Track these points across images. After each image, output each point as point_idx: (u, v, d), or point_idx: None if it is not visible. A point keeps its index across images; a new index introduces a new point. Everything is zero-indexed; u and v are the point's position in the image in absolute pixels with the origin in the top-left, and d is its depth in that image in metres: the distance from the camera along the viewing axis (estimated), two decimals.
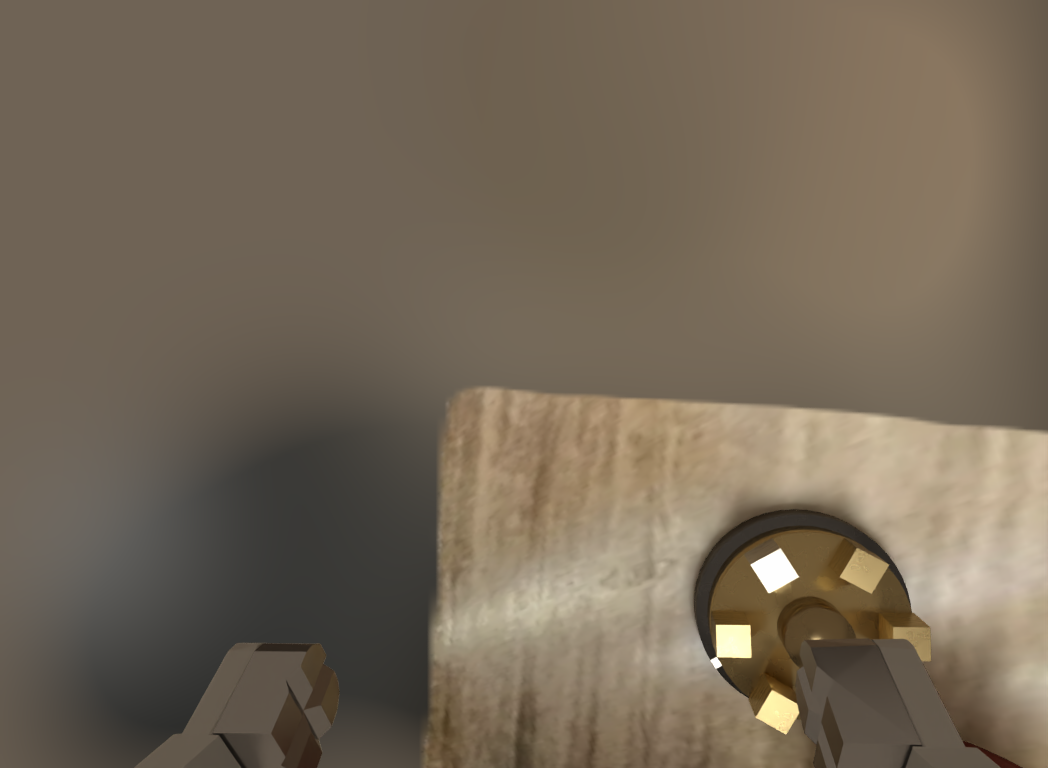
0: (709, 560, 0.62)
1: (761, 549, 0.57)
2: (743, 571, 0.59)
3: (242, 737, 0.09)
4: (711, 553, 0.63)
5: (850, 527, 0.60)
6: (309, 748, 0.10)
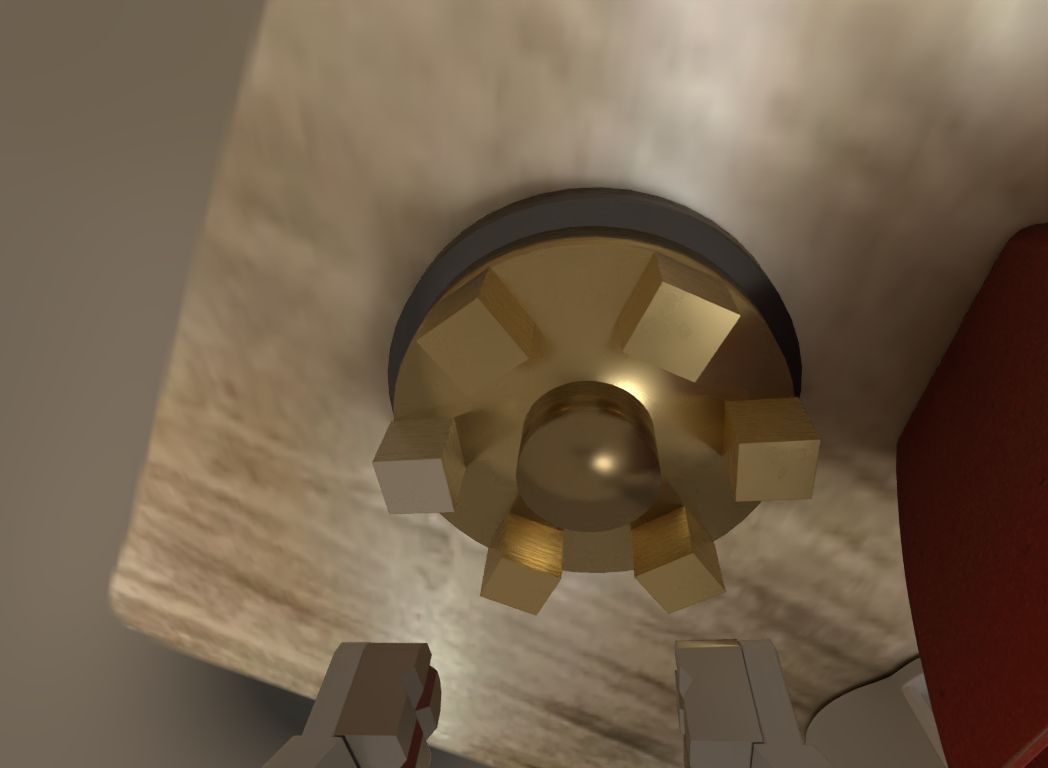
0: None
1: None
2: None
3: (364, 739, 0.09)
4: None
5: (453, 250, 0.27)
6: (422, 750, 0.10)
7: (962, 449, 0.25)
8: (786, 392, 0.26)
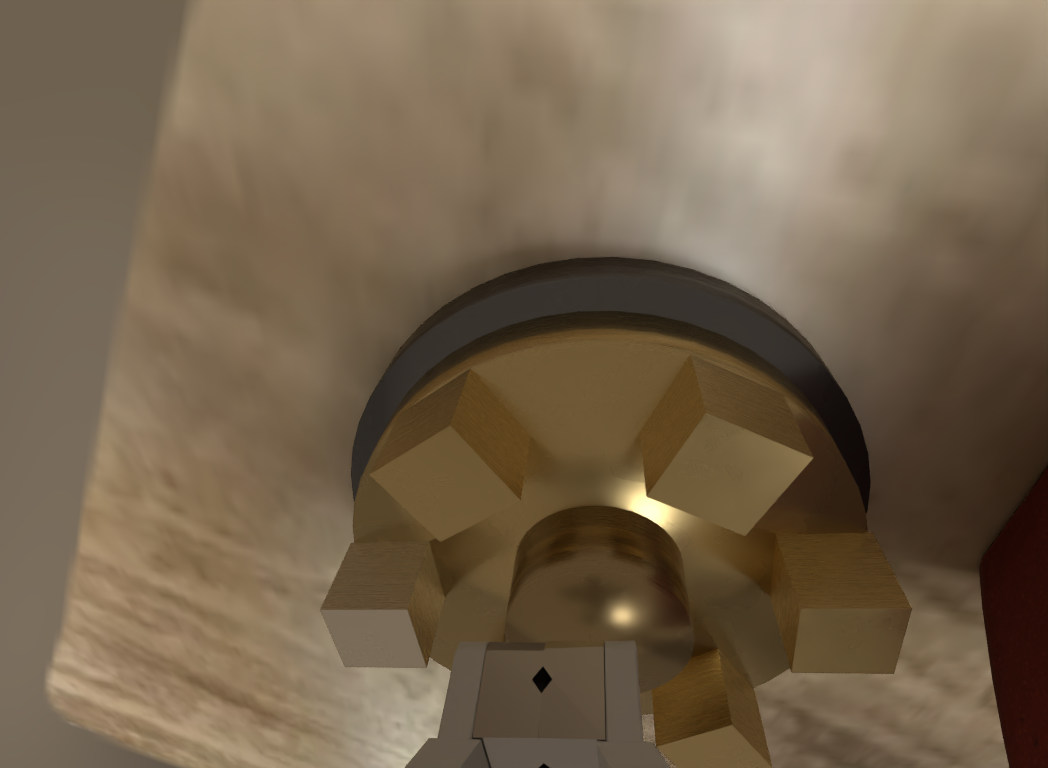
0: None
1: None
2: None
3: (503, 742, 0.09)
4: None
5: (429, 335, 0.21)
6: None
7: None
8: (857, 526, 0.20)
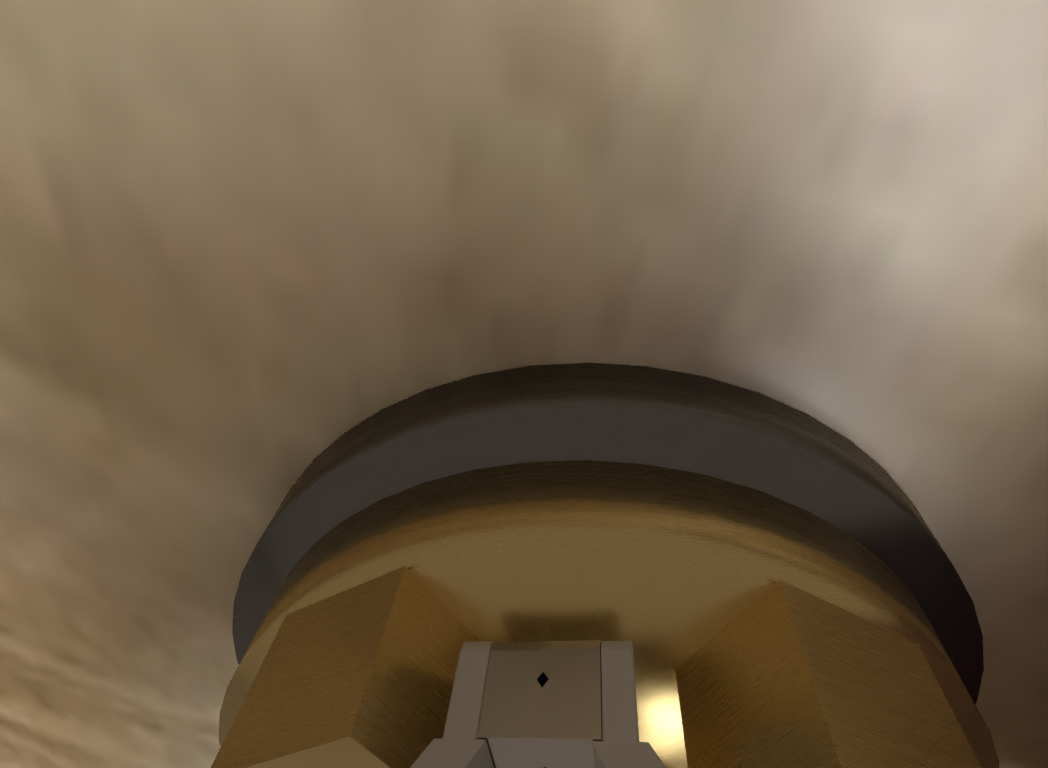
0: None
1: None
2: None
3: (508, 742, 0.09)
4: None
5: (349, 469, 0.14)
6: None
7: None
8: None
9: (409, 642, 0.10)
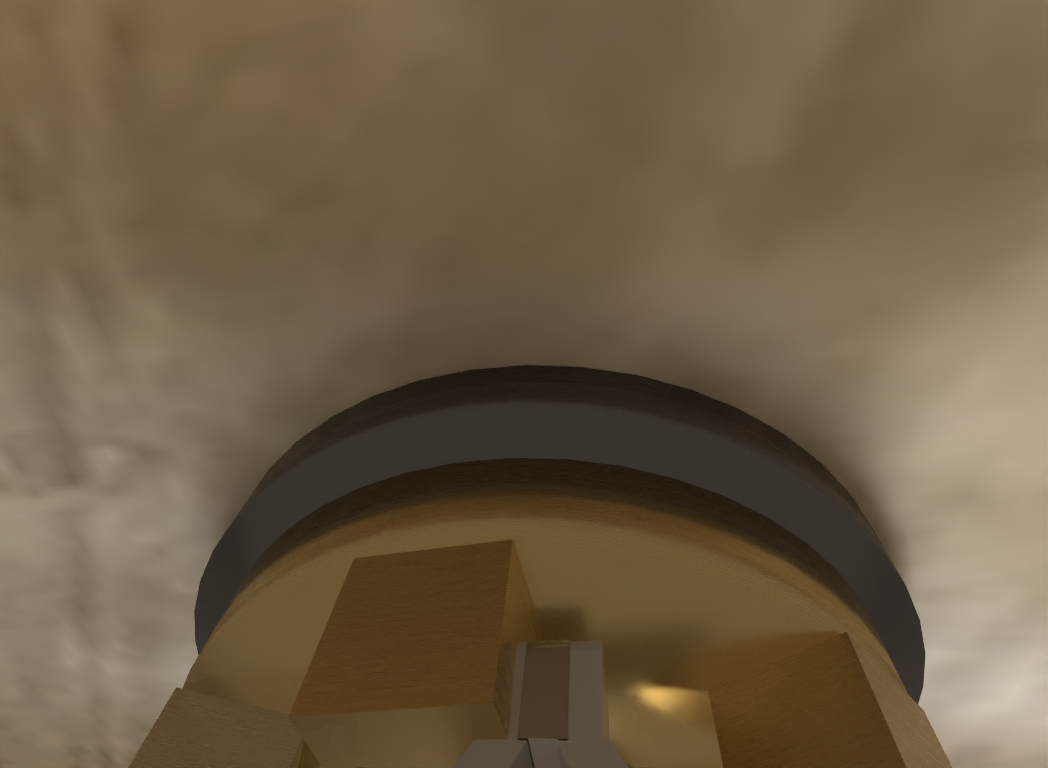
0: (254, 494, 0.15)
1: None
2: None
3: (549, 742, 0.09)
4: (279, 462, 0.16)
5: (838, 514, 0.13)
6: None
7: None
8: None
9: (514, 617, 0.10)
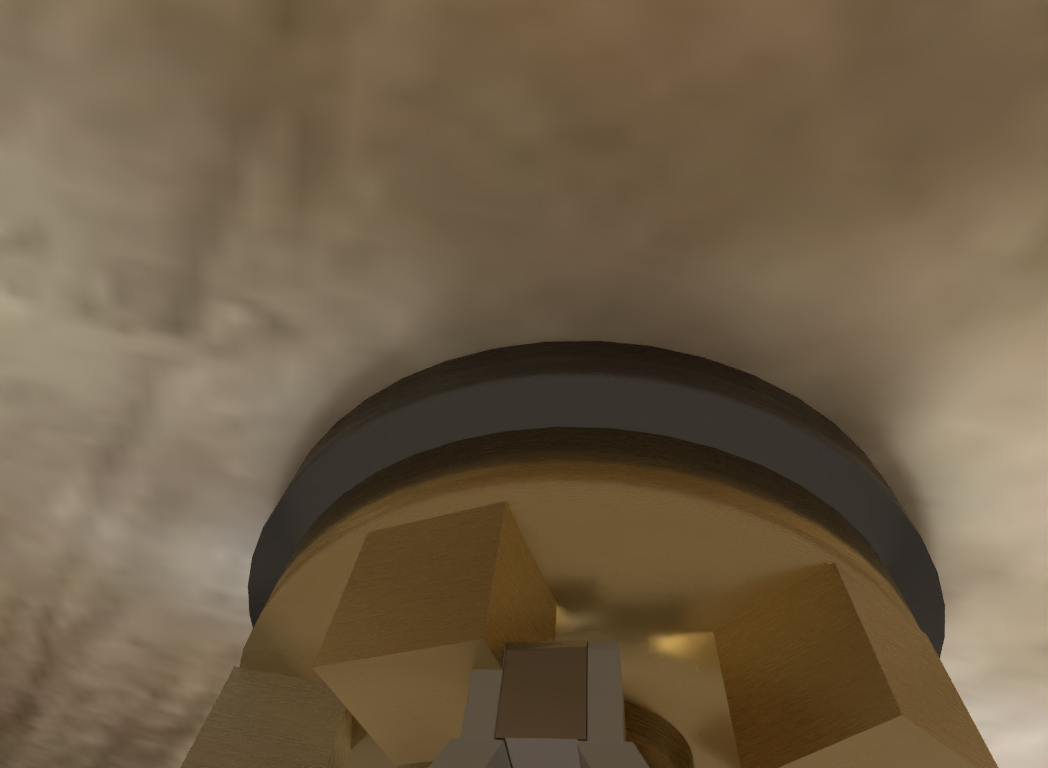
0: (400, 402, 0.15)
1: None
2: None
3: (525, 742, 0.09)
4: (426, 377, 0.15)
5: (929, 565, 0.15)
6: None
7: None
8: None
9: (510, 569, 0.11)
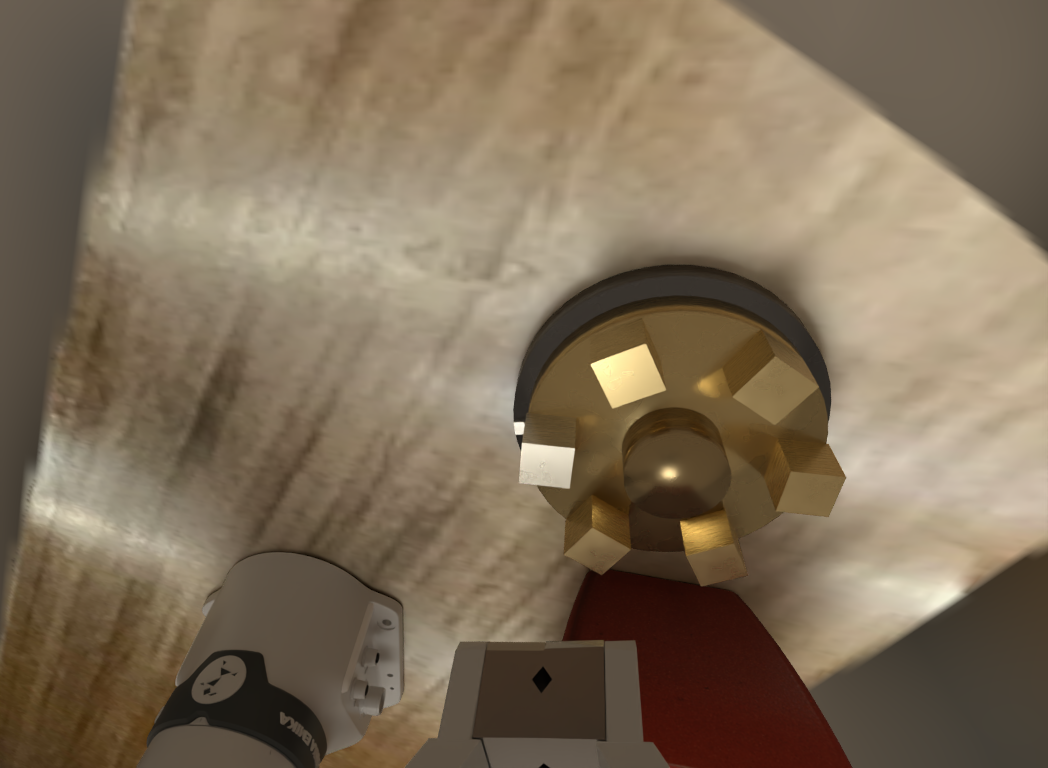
0: (588, 296, 0.37)
1: None
2: None
3: (503, 741, 0.09)
4: (596, 286, 0.37)
5: (815, 346, 0.36)
6: None
7: (659, 627, 0.45)
8: (821, 439, 0.37)
9: (647, 336, 0.33)
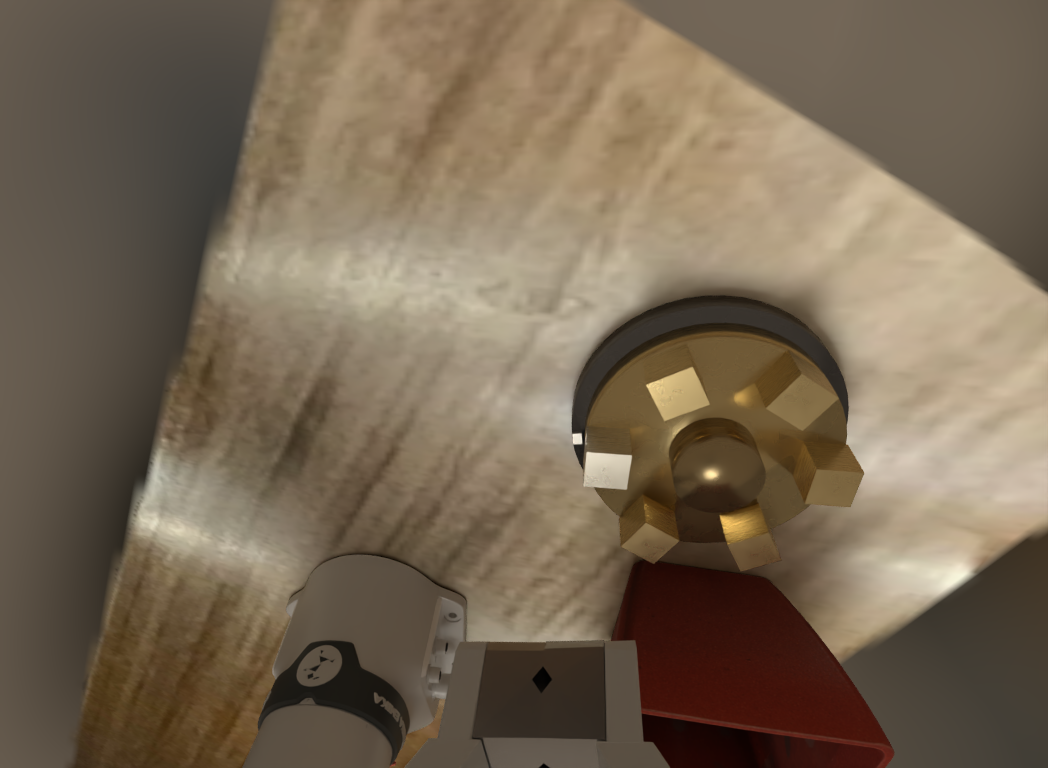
0: (637, 325, 0.43)
1: None
2: None
3: (503, 742, 0.09)
4: (643, 316, 0.44)
5: (833, 361, 0.43)
6: None
7: (703, 609, 0.51)
8: (841, 441, 0.43)
9: (691, 359, 0.39)
